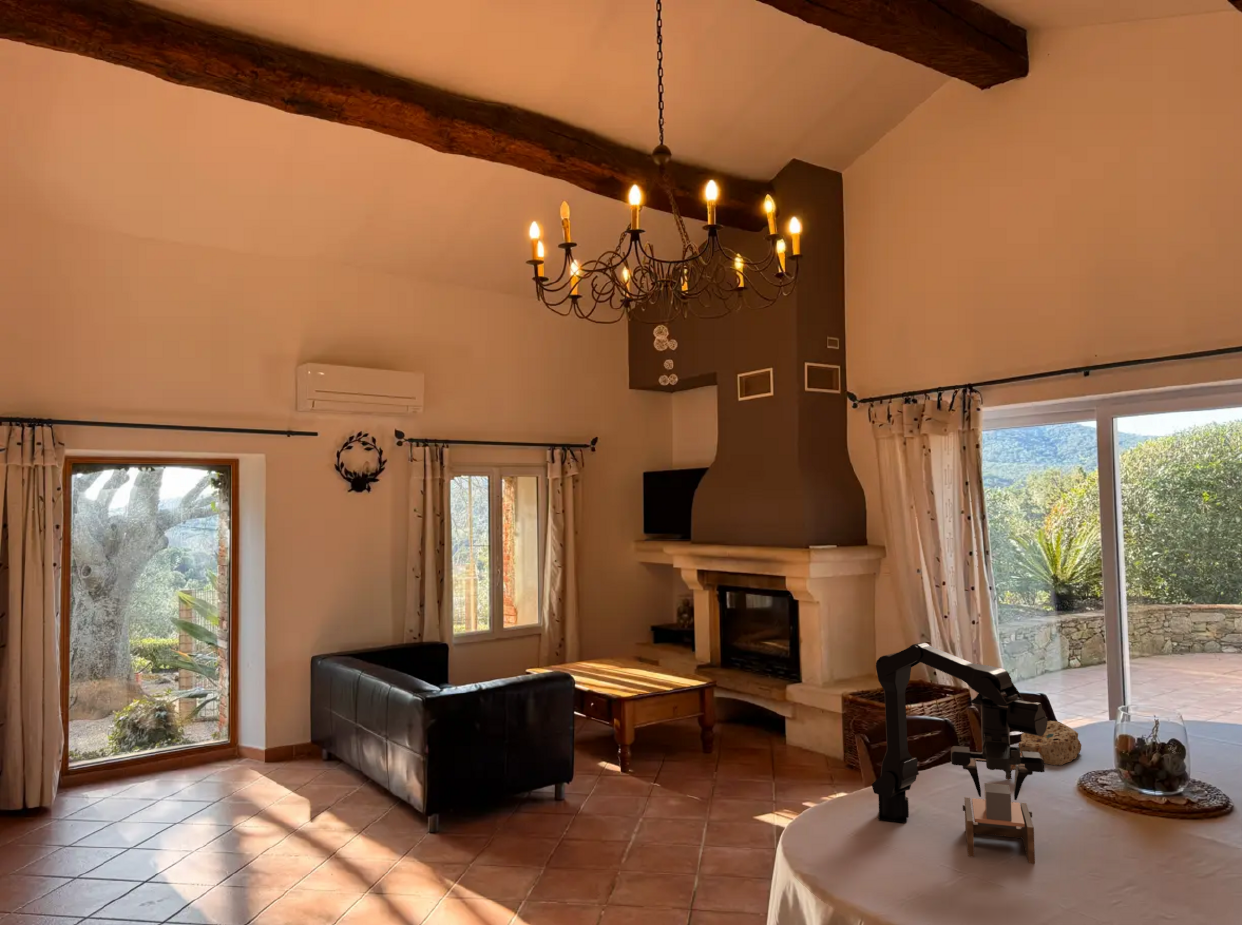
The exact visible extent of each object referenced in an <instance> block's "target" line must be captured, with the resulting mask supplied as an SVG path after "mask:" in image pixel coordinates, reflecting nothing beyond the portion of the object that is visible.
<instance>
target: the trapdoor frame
mask: <svg viewBox="0 0 1242 925" xmlns="http://www.w3.org/2000/svg"><path fill="white" fill-rule="evenodd" d="M963 798H964V799H963V800H964V804H962V812H963V811H964V825H965V826H964V827H965V829H964V830H965V837H966V840H965V841H966V848H967V856H968V857H973V858H975V842H974V840H975V839H974V834H978V835H979V834H980V835H989V836H990V835H991V836H998V837H999V836H1001V837H1005V838H1006V837H1009V838H1017V839H1018V838H1019V839H1022V843H1023V846H1024V850H1025V854H1026V856H1027V857H1026V858H1027V860H1028V864H1032V865H1033V864H1034V865H1035V864H1036V855H1035V854H1036V852H1035V850H1036V849H1035V829H1034V828H1035V827H1034V824H1033V821H1032V818H1033V812H1032V811H1029V807H1028V804H1027V803H1026V802H1020V807H1021V811H1022V815H1023V819H1024V823H1025V827H1017V826H1016V829H1006V828H996V827H987V826H978V822H975V821H974V816H973V811H972V810H973V809H972V801H971V798H970V797H966V796H965V797H963Z"/></svg>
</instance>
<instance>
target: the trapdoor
mask: <svg viewBox="0 0 1242 925" xmlns="http://www.w3.org/2000/svg"><path fill="white" fill-rule="evenodd" d="M971 805H972V810H973V811H972V813H973V822H974V823H978V826H987V827H996V828H1006V829H1016V827H1025V823H1024V819H1023V815H1022V811H1021V802H1014V801H1013V802H1012V801H1011V817H1012V821H1002V820H992V819H987V818H986V812H985V798H984V799H982V798H974V797H972V798H971Z"/></svg>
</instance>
